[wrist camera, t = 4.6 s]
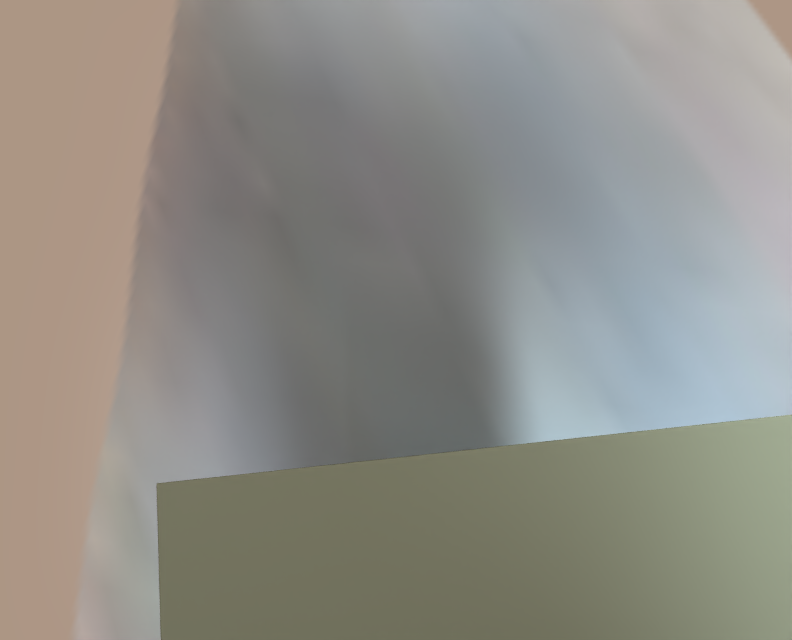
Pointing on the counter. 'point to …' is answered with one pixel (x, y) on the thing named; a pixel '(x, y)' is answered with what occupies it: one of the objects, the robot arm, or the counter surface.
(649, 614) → the sage block
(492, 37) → the counter surface
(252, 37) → the counter surface
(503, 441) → the counter surface
